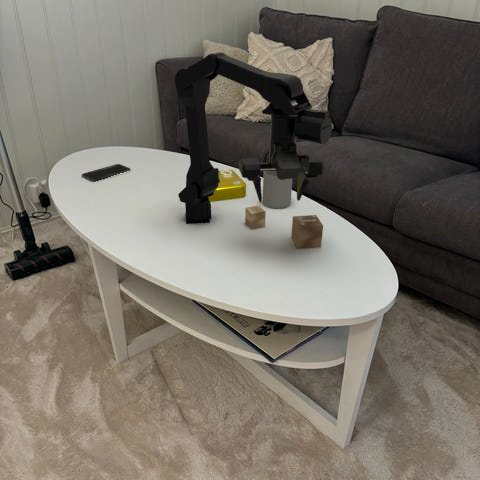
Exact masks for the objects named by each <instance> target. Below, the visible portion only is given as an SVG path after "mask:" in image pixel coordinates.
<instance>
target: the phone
mask: <svg viewBox="0 0 480 480" xmlns="http://www.w3.org/2000/svg"><path fill="white" fill-rule="evenodd" d="M127 171H130V172H131V168H130V167H128V166H125V165H123V164H120V163H116V164H113V165H108V166H105V167H101V168H97V169H95V170H91V171H88V172H87V171H86V172H84V173H82V174H81V177H82V178H83V179H85V180H88V181H89V182H90V183H91V182H92V183H96V181H97V182H99V180H100V181H103V180H106V179H105V178H107V179H109V178H108V177H110V178H112V177H111V176H114V175H117V174H120V173H124V172H127ZM127 173H128V172H127ZM124 174H125V173H124ZM120 175H121V174H120ZM117 176H118V175H117ZM114 177H115V176H114ZM102 179H103V180H102Z"/></svg>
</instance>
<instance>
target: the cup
mask: <svg viewBox="0 0 480 480" xmlns="http://www.w3.org/2000/svg"><path fill="white" fill-rule="evenodd" d="M292 190H293V179H285V180H280V179H278V178H277V173H276V171H263V179H262V201H261V203H262V205H263V206H264V207H265V208H267V209H271V210H285V209H287V208H289V207H291V204H292Z"/></svg>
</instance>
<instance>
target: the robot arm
mask: <svg viewBox="0 0 480 480" xmlns="http://www.w3.org/2000/svg"><path fill="white" fill-rule="evenodd" d="M218 76H221V77H222V78H226V79H227V80H230V81H231V82H232V81H233V82H235V83H237V84H239V85H242V86H245V87H247V88H249V89H252V90H254V91H255V92H257V93H258V94H259V95H260V96H261V98H262V99H263V100H265V101H266V102H267V103H268V105H267V106H266V107H265V108H264V109H263V110H261V114H263V115H269V116H270V128H269V130H270V131H269V140H268V141H269V152H268V153H269V154H268V162H259V160H258V159H257V157H251V158H250V157H246V158H240V160H239V162H238V170H239V172H240V175H241V177H242V178H244V179H247V181H249V182H252V183H253V187H254V190H255V193H256V196H257V198H258V199H257V200H258V201H259V203H262V199H263V192H262V183H261V182H262V178H261V176H260V175H261V172H264V171H276V173H277V178H278V179H280V180H285V179H292V180H297V187H296V200H297V202H298V201H300V200H301V198H302V197H303V194H304V193H305V190H306V188H307V186H308V184H309V183H310V182H311V180H313V179H317V178H318V176H321V175H324V173H325V164H324V162H323V161H322V160H321V158H319V156H317V155H309V154H298V151H297V143H296V141H297V140H300V141H303V142H308V143H313V144H318V145H327V143H328V142H329V140H330V139H331V135H332V130H333V124H332V119H331V117H330V111H329V110H328V109H327V110H326V109H323V110H320V109H313V106H312V104H311V102H310V101H309V98H308V96H307V94H306V93H305V91H304V86H303V82H302V80H301V78H300V77H298V76H297V75H294V74H289V73H288V74H287V73H283V72H272V71H271V72H270V71H266V70H263V69H261V68H258V67H257V66H254V65H252V64H249V63H246V62H244V61H242V60H239V59H236V58H234V57H231V56H229V55H227V54H226V53H225V52H221V51H220V52H214V53H209V54H207V55H206V56H205V57H203V58H202V59H201V60H199V61H197V62H196V63H194V64H191V65H190V66H188V67H185V68H180V69H179V70H177V72H176V73H175V74H174V86H175V90H176V94H177V97H178V98H179V100H180V101H181V103H182V105H183V106H184V111H185V112H184V113H185V121H186V122H185V123H186V131H187V132H186V133H187V143H188V151H189V161H190V162H189V163H190V165H189V167H188V170H187V173H186V175H185V177H186V178H185V187H184V188H183V189H182V190H181V191H180V192H179V193H178V194H177V195H178V199H179V201H180V203H183V204H184V208H185V214H184V215H185V216H184V217H185V224H186V225H194V224H195V225H196V224H197V225H198V224H209V223H211V219H212V202H210V201H209V198H208V197H210V196H212V195H213V194H214V191H215V190H216V189H217V188H218V183H220V180H219V171H220V170H219V168H218V167H214V166H213V164H212V163H211V160H210V151H209V150H210V149H209V140H208V139H209V136H208V126H207V125H208V123H207V116H206V115H207V114H206V103H207V100H208V98H209V95H210V92H211V82H212V81H213V80H215V79H216V78H217V77H218ZM294 103H296V104H294ZM293 104H294V105H293Z"/></svg>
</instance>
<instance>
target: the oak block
mask: <svg viewBox="0 0 480 480" xmlns="http://www.w3.org/2000/svg"><path fill="white" fill-rule="evenodd" d="M244 210H245V212H244V213H245V214H244V217H245V218H244V223H245V225H246V226H247V227H248V228H249V229H251V230H255V229H260V228H261V229H262V228H266V214H267V213H266V212H267V211H266V210H265V209H264V208H263V207H261V205H255V206H249V207H248V206H247V207H245V209H244Z"/></svg>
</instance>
